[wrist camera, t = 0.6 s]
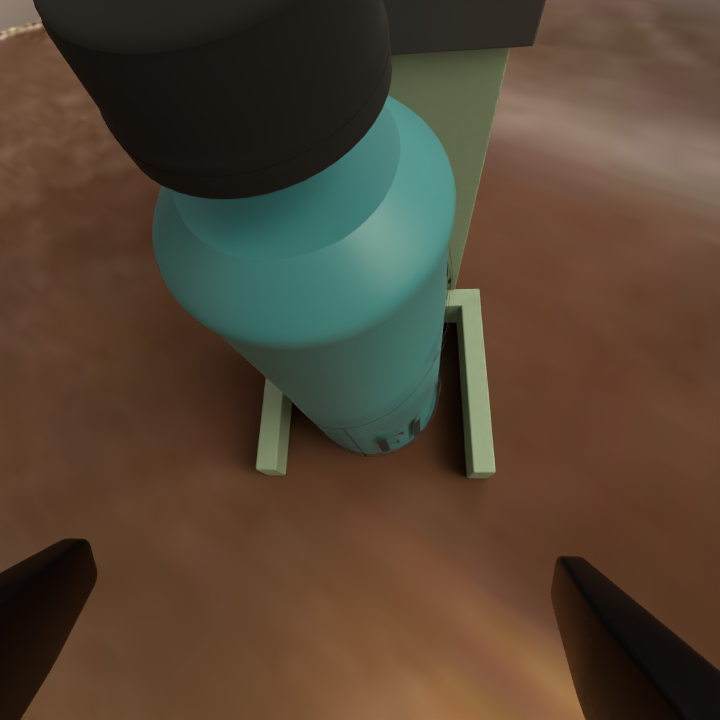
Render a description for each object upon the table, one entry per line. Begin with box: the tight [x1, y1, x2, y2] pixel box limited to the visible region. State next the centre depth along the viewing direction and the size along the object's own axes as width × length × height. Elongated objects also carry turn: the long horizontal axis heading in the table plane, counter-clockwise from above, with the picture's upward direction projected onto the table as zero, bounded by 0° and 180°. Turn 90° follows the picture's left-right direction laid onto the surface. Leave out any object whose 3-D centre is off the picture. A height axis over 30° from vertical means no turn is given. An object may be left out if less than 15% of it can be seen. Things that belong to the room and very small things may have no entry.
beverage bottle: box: [33, 0, 456, 457], centre depth 14 cm, size 6×7×20 cm
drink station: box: [256, 0, 546, 478], centre depth 18 cm, size 17×11×16 cm, turn 179°
